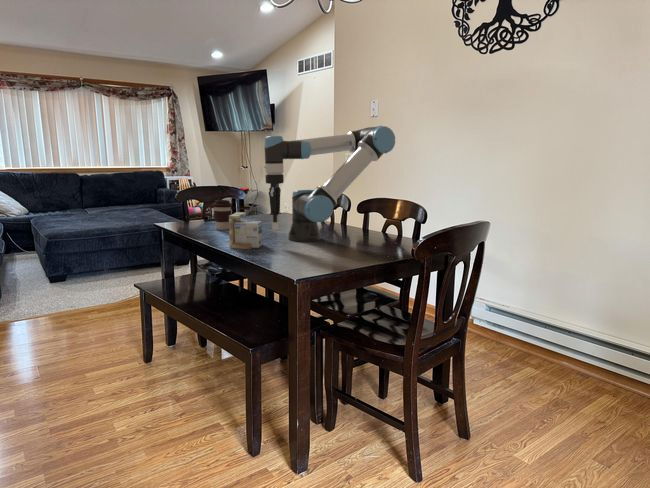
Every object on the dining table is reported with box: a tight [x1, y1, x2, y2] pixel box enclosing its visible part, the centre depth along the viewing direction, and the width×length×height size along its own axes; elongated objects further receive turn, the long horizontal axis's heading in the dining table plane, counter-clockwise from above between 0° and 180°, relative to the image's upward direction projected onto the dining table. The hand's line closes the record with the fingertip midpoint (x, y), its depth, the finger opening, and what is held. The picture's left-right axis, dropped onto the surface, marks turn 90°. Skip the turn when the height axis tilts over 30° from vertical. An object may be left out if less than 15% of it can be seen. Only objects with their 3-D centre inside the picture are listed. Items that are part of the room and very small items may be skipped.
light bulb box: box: [234, 220, 263, 249], centre depth 195 cm, size 11×7×11 cm, turn 85°
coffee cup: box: [211, 199, 233, 231], centre depth 236 cm, size 10×10×15 cm
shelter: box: [228, 211, 252, 250], centre depth 196 cm, size 12×9×14 cm
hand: (275, 229), depth 194 cm, fingers closed
